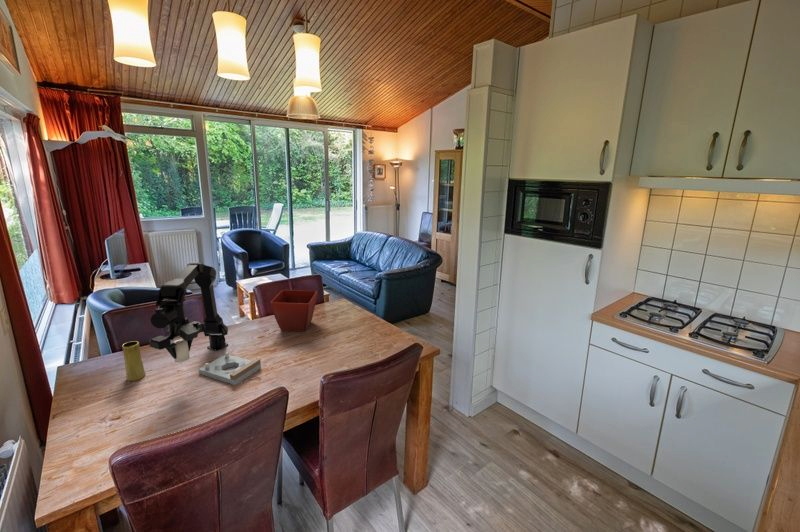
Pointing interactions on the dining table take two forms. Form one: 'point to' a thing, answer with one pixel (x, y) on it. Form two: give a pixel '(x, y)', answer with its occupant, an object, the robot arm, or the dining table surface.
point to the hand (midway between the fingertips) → (181, 355)
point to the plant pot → (294, 309)
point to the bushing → (181, 350)
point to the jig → (231, 376)
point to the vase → (133, 361)
